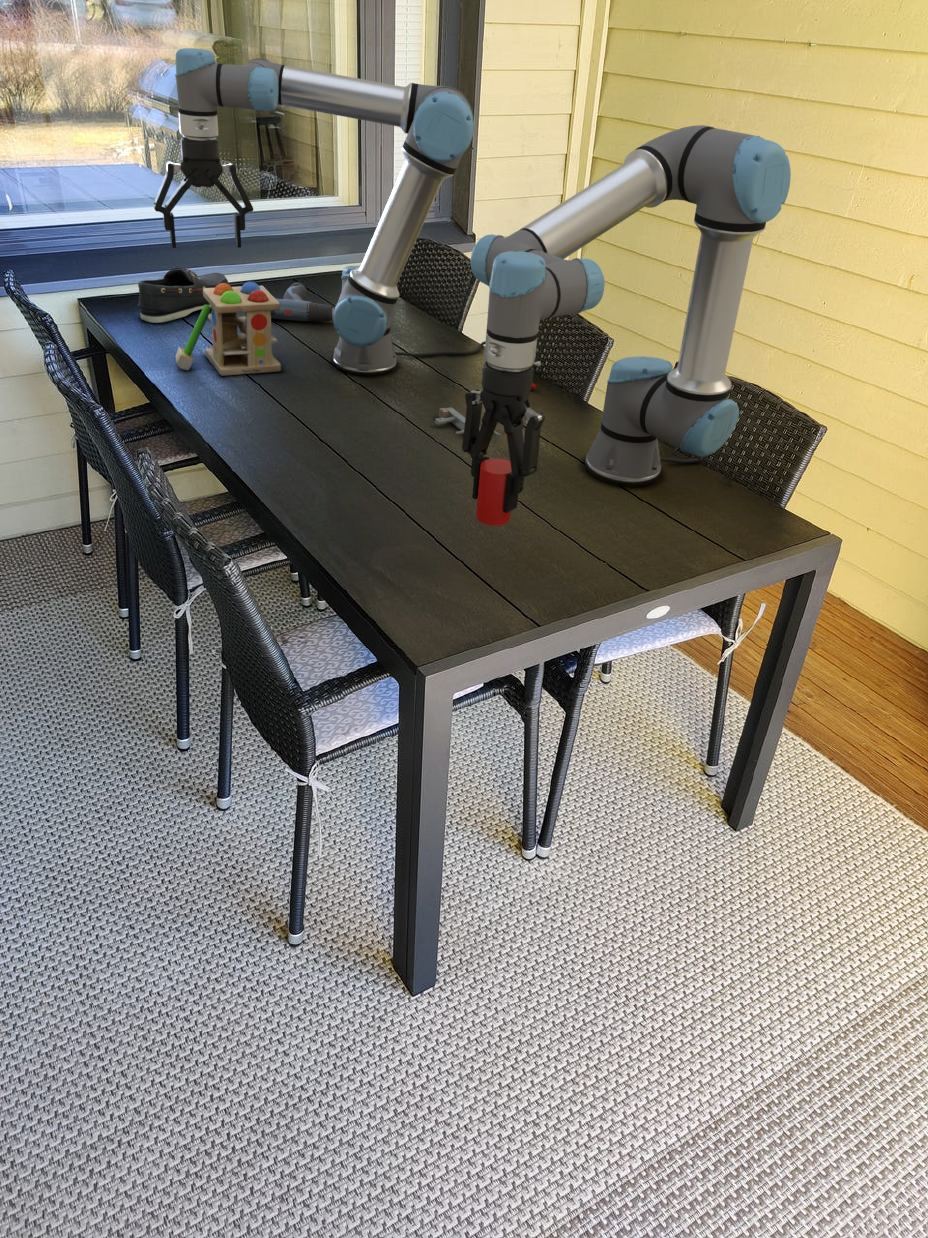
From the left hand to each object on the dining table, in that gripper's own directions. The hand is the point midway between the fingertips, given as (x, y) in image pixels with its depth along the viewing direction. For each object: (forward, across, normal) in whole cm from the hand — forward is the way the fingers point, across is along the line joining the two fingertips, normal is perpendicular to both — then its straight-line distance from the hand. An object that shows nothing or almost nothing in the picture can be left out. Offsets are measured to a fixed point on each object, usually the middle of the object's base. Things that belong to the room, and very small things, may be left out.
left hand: (206, 246), depth 210 cm
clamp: (+28, +46, -40) cm, 68 cm away
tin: (+19, +31, -94) cm, 101 cm away
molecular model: (+28, +66, -20) cm, 75 cm away
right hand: (+16, +31, -94) cm, 100 cm away
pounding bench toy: (+28, +3, +5) cm, 29 cm away
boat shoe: (+28, 0, +49) cm, 56 cm away
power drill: (+28, +31, +41) cm, 59 cm away
